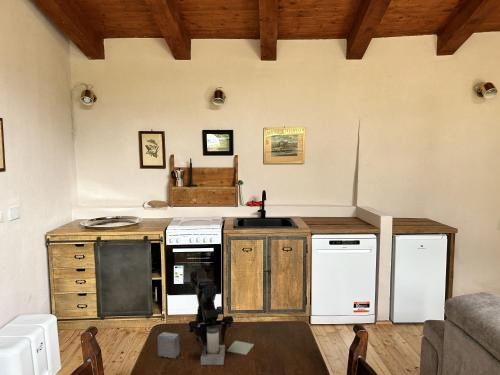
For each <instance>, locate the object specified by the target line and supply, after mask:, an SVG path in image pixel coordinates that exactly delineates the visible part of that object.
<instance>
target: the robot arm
mask: <svg viewBox="0 0 500 375" xmlns="http://www.w3.org/2000/svg"><path fill="white" fill-rule="evenodd" d="M205 270H206V269H205V268H204V267H198V268H194V270H193V271H192V272H190V274H189V284H190V285H191V288H192V289H194V290H195V293H196V294H195V295H196V299H197V303H198V306H197V312H196V314H195V320H190V321H189V322H188V324H187V333H189V334H190V333H193V334H192V335H196V338H195V339H196V340H197V341H200V343H201V345H202V348H203V347H204V346H205V342H207V327H209V326H212V325H215V326H221V328H220V333H221V334H220V335H221V342H222V345H225V338H226V331H227V330H228V329H229V328H231V327H232V326H233V324H234V317H233V315H227V316H223V317H222V319H219V316H220V315H222V314H223V308H222V306H221V305H219V306H215V299H216V295H217V290H218V288H217V286H216V285H215V283H214V282H213V280H212V279H210V278H208V276H207V272H206V271H205Z"/></svg>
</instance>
